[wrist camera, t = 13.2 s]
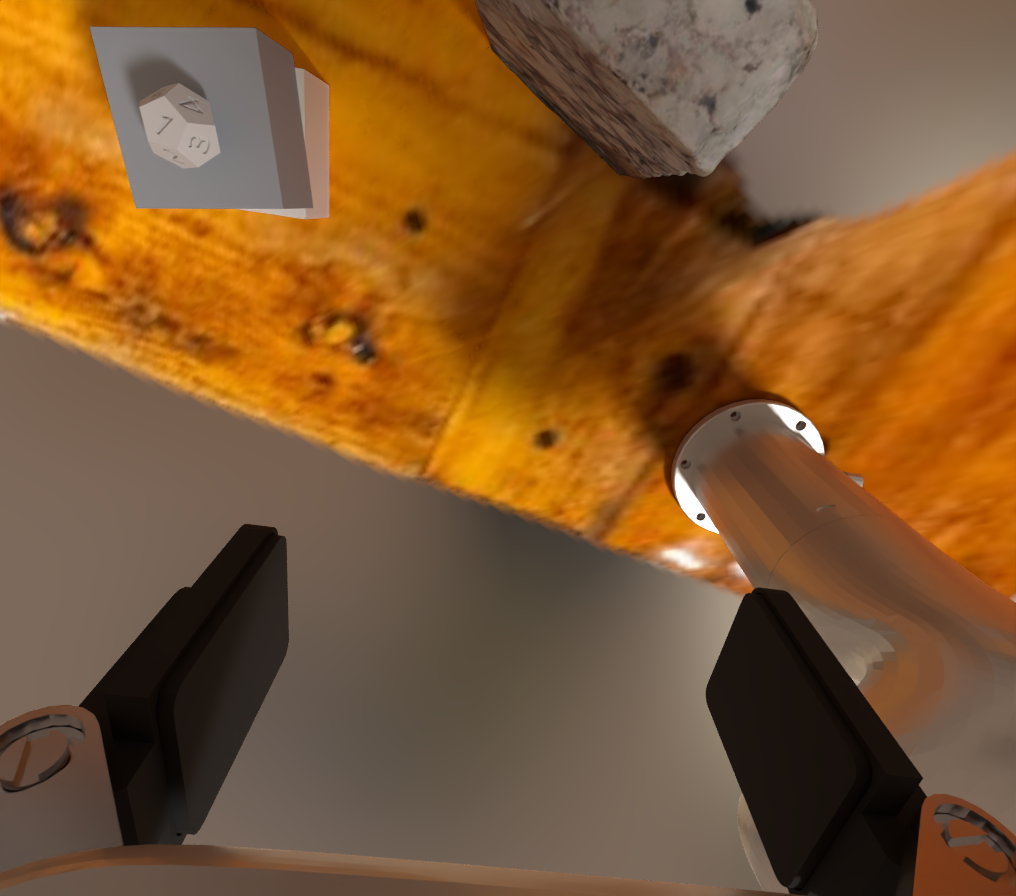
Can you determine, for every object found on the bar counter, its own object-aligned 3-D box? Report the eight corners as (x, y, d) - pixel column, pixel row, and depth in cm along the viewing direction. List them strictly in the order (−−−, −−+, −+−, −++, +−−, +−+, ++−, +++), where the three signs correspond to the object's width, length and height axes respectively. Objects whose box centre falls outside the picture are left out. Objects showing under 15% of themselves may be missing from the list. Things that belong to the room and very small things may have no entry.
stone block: (466, 64, 35) (421, -86, 17) (530, -50, 32) (558, -373, 14) (624, 194, 38) (732, 186, 20) (693, 98, 36) (887, -12, 17)
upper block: (293, 53, 31) (255, 27, 26) (313, 208, 34) (283, 209, 29) (151, 52, 31) (89, 26, 26) (185, 207, 34) (136, 208, 29)
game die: (146, 124, 28) (107, 116, 25) (193, 72, 27) (157, 57, 24) (201, 185, 29) (168, 183, 26) (247, 137, 28) (218, 130, 25)
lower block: (330, 86, 35) (303, 68, 31) (329, 217, 39) (306, 219, 34) (205, 66, 35) (160, 45, 30) (216, 200, 38) (176, 199, 34)
